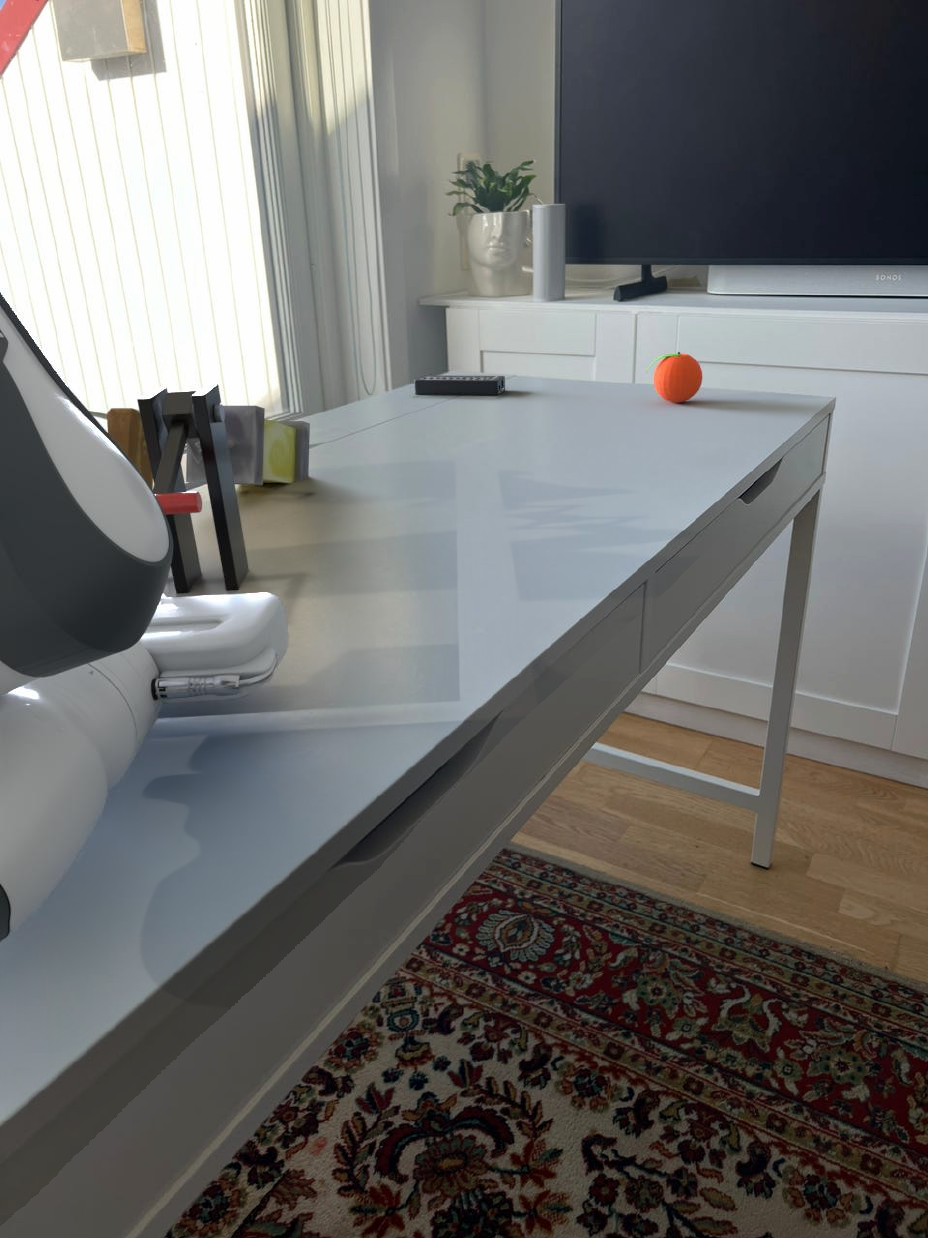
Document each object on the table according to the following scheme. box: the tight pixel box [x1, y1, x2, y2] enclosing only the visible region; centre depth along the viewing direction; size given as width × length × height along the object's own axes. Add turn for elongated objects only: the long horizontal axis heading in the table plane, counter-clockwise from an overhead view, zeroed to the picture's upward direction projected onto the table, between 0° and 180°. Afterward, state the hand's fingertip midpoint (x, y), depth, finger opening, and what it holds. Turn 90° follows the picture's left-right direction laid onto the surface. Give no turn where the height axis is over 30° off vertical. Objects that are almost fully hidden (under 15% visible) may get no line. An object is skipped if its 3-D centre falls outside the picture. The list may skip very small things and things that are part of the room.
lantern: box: [106, 405, 311, 491], centre depth 91 cm, size 8×17×30 cm
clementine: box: [646, 351, 703, 404], centre depth 134 cm, size 8×7×7 cm
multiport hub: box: [413, 374, 506, 396], centre depth 151 cm, size 4×14×2 cm, turn 69°
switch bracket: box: [136, 383, 250, 595], centre depth 73 cm, size 10×12×17 cm
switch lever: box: [153, 390, 203, 515], centre depth 67 cm, size 12×6×2 cm, turn 1°
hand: (147, 594), depth 61 cm, fingers closed
